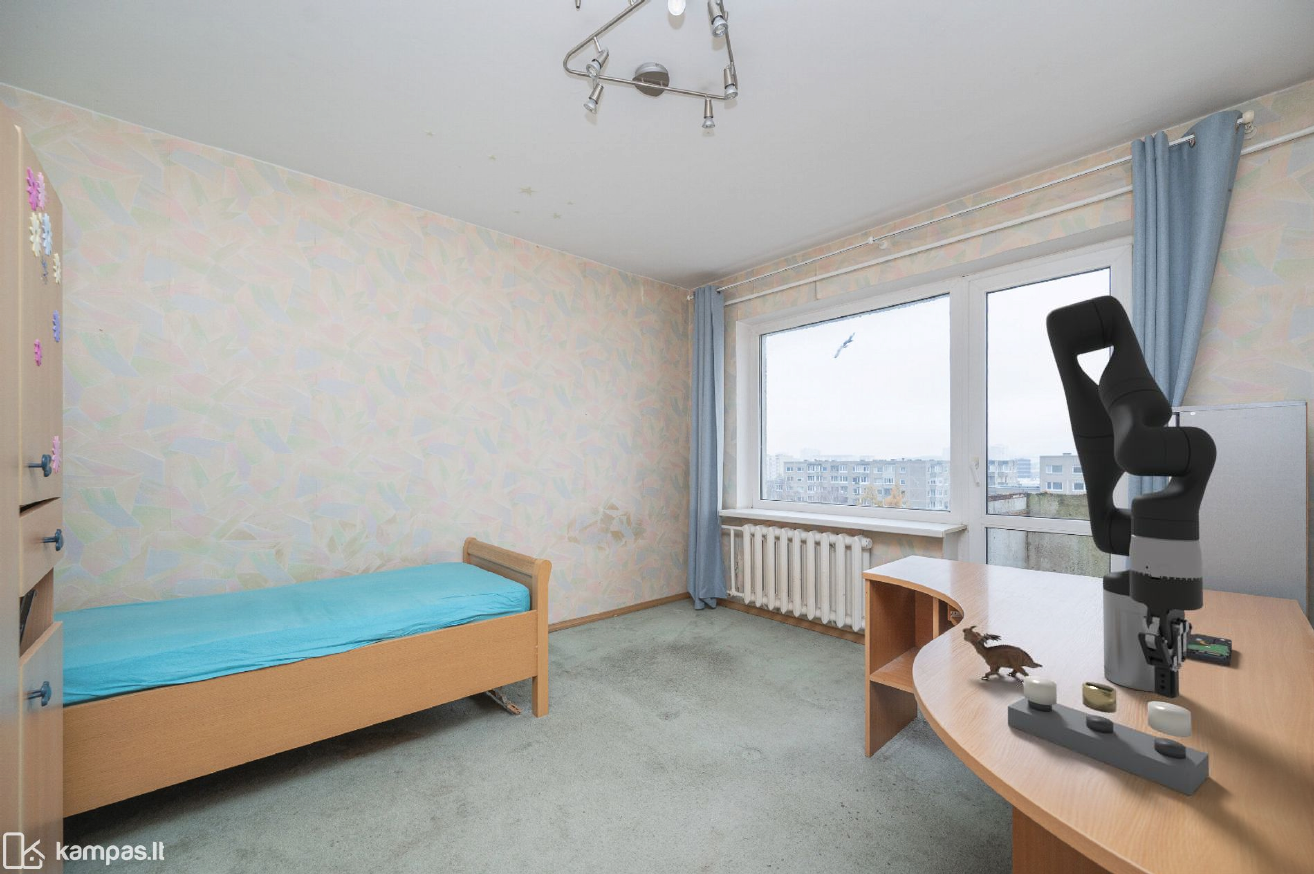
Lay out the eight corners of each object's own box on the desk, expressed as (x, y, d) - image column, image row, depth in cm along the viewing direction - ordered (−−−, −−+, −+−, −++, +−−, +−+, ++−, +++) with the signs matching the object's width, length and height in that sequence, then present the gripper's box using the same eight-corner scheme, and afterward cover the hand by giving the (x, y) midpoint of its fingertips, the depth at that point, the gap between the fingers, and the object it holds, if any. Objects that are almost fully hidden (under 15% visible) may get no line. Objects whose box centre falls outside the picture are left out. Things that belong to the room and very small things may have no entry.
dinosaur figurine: (966, 677, 109) (965, 630, 110) (962, 667, 115) (962, 621, 115) (1049, 689, 104) (1048, 639, 104) (1041, 677, 109) (1041, 630, 110)
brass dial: (1121, 708, 83) (1120, 687, 83) (1110, 715, 81) (1110, 694, 81) (1088, 698, 86) (1088, 678, 86) (1077, 704, 84) (1077, 684, 84)
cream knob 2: (1195, 731, 76) (1195, 710, 76) (1185, 740, 74) (1185, 719, 74) (1154, 718, 80) (1153, 698, 80) (1143, 726, 78) (1142, 706, 78)
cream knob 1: (1061, 700, 90) (1061, 683, 90) (1049, 707, 87) (1048, 689, 87) (1031, 690, 93) (1031, 673, 93) (1018, 696, 91) (1018, 679, 91)
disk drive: (1169, 640, 133) (1163, 655, 123) (1169, 628, 133) (1163, 642, 123) (1232, 651, 125) (1231, 668, 115) (1231, 639, 126) (1230, 655, 115)
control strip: (1208, 776, 76) (1208, 745, 76) (1190, 795, 72) (1189, 762, 72) (1031, 712, 95) (1030, 687, 95) (1008, 724, 90) (1007, 698, 91)
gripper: (1147, 560, 84) (1149, 676, 84) (1112, 569, 77) (1114, 696, 77) (1216, 569, 78) (1218, 694, 77) (1185, 580, 71) (1187, 718, 70)
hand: (1166, 695), depth 77 cm, fingers closed
